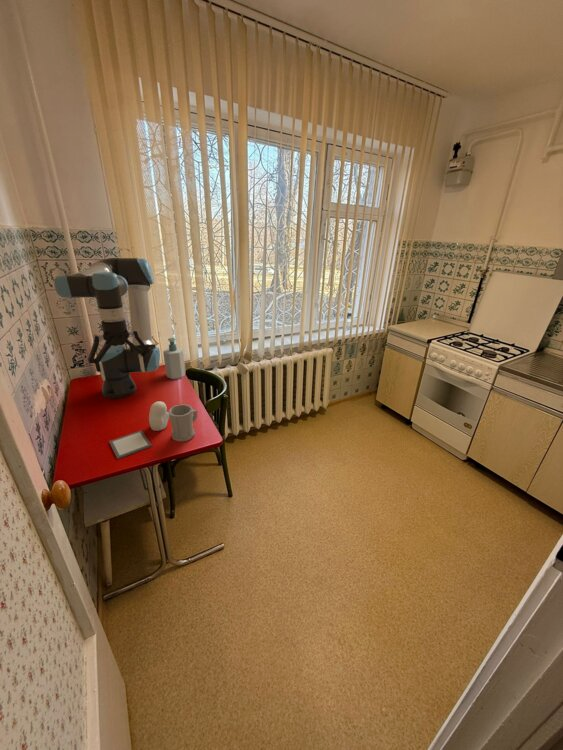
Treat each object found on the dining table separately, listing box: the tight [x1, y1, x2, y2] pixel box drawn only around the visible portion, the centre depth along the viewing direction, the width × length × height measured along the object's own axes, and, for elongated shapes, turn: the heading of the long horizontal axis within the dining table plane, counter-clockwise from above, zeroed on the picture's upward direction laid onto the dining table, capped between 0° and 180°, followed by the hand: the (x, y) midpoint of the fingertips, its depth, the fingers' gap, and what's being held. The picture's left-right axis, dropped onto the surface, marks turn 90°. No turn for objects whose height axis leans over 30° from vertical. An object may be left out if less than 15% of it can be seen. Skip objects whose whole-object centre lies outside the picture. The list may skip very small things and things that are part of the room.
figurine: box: [148, 401, 170, 432], centre depth 124 cm, size 7×8×12 cm
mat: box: [108, 430, 153, 460], centre depth 115 cm, size 12×12×1 cm
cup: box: [168, 403, 198, 442], centre depth 120 cm, size 10×9×12 cm
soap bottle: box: [162, 337, 186, 380], centre depth 167 cm, size 10×9×22 cm
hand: (124, 375), depth 114 cm, fingers open, 13 cm apart
